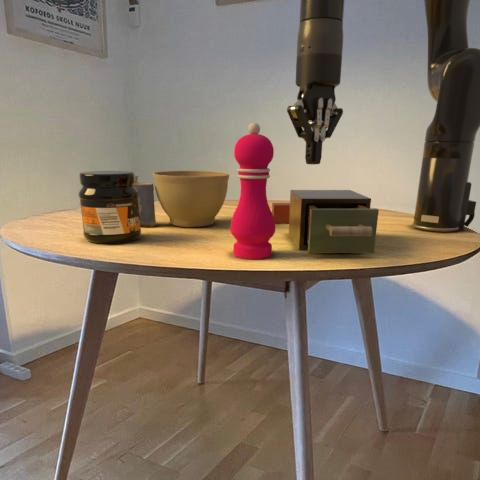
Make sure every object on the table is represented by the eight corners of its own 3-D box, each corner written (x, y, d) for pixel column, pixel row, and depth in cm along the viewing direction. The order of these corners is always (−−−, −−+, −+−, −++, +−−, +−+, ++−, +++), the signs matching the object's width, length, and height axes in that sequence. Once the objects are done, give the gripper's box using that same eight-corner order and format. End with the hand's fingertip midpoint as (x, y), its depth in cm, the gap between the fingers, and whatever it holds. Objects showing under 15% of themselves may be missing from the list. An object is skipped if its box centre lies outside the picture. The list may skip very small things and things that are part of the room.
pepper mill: (229, 250, 80) (228, 123, 72) (271, 249, 80) (274, 123, 73) (232, 260, 73) (231, 121, 66) (277, 259, 74) (282, 121, 66)
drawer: (383, 260, 70) (389, 214, 67) (314, 260, 69) (317, 214, 67) (353, 237, 86) (357, 199, 83) (297, 237, 86) (299, 199, 83)
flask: (158, 225, 101) (155, 174, 97) (149, 228, 99) (145, 175, 95) (125, 222, 105) (121, 172, 101) (116, 224, 103) (111, 173, 99)
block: (288, 220, 109) (289, 202, 107) (291, 223, 105) (291, 205, 104) (271, 220, 109) (272, 202, 107) (273, 223, 105) (273, 205, 103)
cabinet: (366, 249, 80) (371, 198, 77) (299, 250, 80) (301, 198, 77) (346, 234, 93) (350, 189, 90) (288, 234, 93) (290, 189, 90)
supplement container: (111, 247, 81) (104, 175, 77) (71, 240, 87) (63, 172, 82) (153, 237, 89) (149, 172, 85) (114, 231, 95) (108, 169, 90)
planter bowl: (174, 233, 93) (172, 176, 89) (144, 221, 106) (141, 171, 102) (243, 226, 101) (243, 173, 97) (207, 216, 114) (206, 169, 110)
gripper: (311, 46, 71) (305, 166, 77) (361, 56, 79) (352, 163, 86) (275, 52, 76) (272, 164, 82) (325, 61, 84) (319, 162, 91)
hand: (313, 164), depth 84 cm, fingers closed
